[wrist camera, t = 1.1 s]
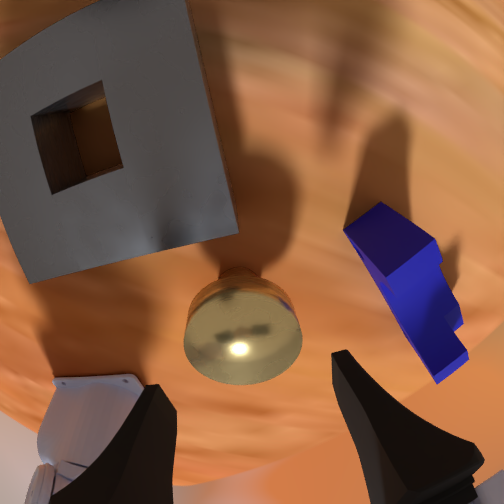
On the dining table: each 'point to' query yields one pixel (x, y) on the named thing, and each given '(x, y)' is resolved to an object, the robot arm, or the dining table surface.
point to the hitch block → (127, 136)
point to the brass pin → (242, 329)
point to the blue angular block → (412, 285)
